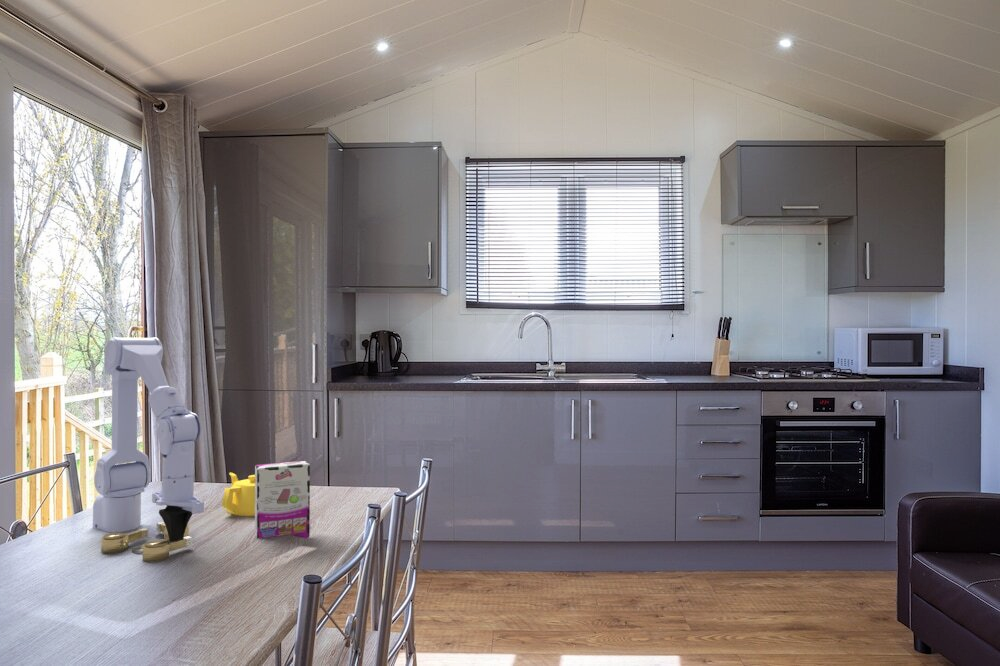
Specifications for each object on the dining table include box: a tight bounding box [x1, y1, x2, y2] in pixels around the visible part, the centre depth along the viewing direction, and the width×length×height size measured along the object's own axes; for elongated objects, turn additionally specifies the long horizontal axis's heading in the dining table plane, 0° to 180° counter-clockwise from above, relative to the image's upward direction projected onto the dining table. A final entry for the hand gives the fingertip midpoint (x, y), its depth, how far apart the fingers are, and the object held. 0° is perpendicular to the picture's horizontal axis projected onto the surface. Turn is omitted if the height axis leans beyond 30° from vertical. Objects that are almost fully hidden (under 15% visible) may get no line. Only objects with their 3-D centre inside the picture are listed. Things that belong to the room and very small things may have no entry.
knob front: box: [141, 535, 193, 563], centre depth 126 cm, size 9×5×3 cm, turn 147°
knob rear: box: [156, 521, 190, 542], centre depth 137 cm, size 9×5×3 cm, turn 55°
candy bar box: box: [254, 460, 311, 539], centre depth 142 cm, size 11×5×16 cm, turn 118°
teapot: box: [221, 472, 255, 517], centre depth 160 cm, size 14×13×10 cm
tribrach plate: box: [131, 543, 144, 555], centre depth 131 cm, size 22×21×2 cm
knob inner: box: [100, 527, 149, 555], centre depth 131 cm, size 9×5×3 cm, turn 158°
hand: (176, 543), depth 129 cm, fingers closed, pressing on knob front
